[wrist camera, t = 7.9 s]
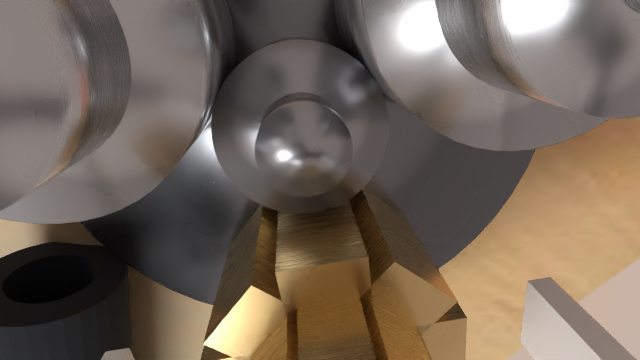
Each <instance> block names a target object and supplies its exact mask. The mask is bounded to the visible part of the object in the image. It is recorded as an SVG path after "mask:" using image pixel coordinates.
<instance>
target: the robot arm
mask: <svg viewBox="0 0 640 360" xmlns="http://www.w3.org/2000/svg"><path fill="white" fill-rule="evenodd" d="M520 342H521V343H522V345H523V346H524V347H525V349H526V350H527V352H528V353H529V354H530V356H531V357H532V358H533V359H534V360H636V359H635V358H634V357H633V356H632V355H631V354H630V353H629V352H628V351H627V350H626V349H625V348H624V347H623V346H622V345H621V344H620V343H619V342H617V341H616V340H615V339H614V338H613V337H612V336H611V335H610V334H609V333H608V332H607V331H606V330H605V329H604V328H603V327H602V326H601V325H600V324H599V323H598V322H597V321H596V320H595V319H593V318H592V317H591V316H590V315H589V314H588V313H587V312H586V311H585V310H584V309H583V308H582V307H581V306H580V305H579V304H578V303H577V302H576V301H575V300H574V299H573V298H572V297H571V296H569V295H568V294H567V293H566V292H565V291H564V290H563V289H562V288H561V287H560V286H559V285H558V284H557V283H556V282H555V281H554V280H553V279H552V278H551V277H548V278H542V279H536V280H530V281H528V282H527V290H526V298H525V306H524V314H523V323H522V331H521V339H520ZM101 360H135V359H134V357H133V355H132V353H131V351H130V348H125V349H119V350H113V351H107V352H105V353H104V355H103V357H102V359H101Z"/></svg>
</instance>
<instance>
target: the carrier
mask: <svg viewBox="0 0 640 360" xmlns="http://www.w3.org/2000/svg"><path fill="white" fill-rule="evenodd" d="M630 117H640V0H0V219H5V220H10V221H17V222H26V223H35V224H61V223H71V222H81V223H82V224H83V225H84V226H85V227H86V229H87V230H88V231H89V232H90V233H91V234H92V235H93V236H94V237H95V238H96V239H97V240H99V241H100V242H101V243H102V244H103V245H104V246H105V247H107V248H108V249H109V250H110V251H111V252H112V253H114V254H115V255H116V256H117V257H118V258H120V259H121V260H123V261H124V262H126V263H127V264H128V265H130V266H131V267H133V268H134V269H136V270H137V271H139V272H140V273H141V274H143V275H145V276H147V277H148V278H150V279H152V280H154V281H156V282H158V283H159V284H161V285H163V286H165V287H167V288H169V289H171V290H173V291H176V292H178V293H180V294H183V295H185V296H188V297H190V298H193V299H195V300H198V301H201V302H204V303H208V304H211V305H214V302H215V298H216V294H217V290H218V287H219V283H220V279H221V275H222V272H223V268H224V264H225V260H226V257H227V253H228V249H229V246H230V244H231V243H232V242H233V240H234V239H235V238H236V236H237V235H238V234H239V232H240V231H241V230H242V228H243V227H244V226H245V225H246V223H247V222H248V221H249V219H250V218H251V217H252V215H253V214H254V213H255V211H256V210H257V209H258V207H259V206H260V205H263V206H265V207H268V208H271V209H273V210H277V211H281V212H288V213H313V212H318V211H323V210H327V209H329V208H332V207H335V206H337V205H339V204H341V203H343V202H345V201H347V200H349V199H350V198H352V197H353V196H354V195H356V194H357V193H358V192H359V191H360V190H362V189H363V188H364V189H366V190H367V191H369V192H370V193H372V194H373V195H374V196H376V197H377V198H379V199H380V200H382V201H383V202H385V203H386V204H388V205H389V206H390V207H392V208H393V209H395V210H396V211H398V212H399V213H401V214H402V215H403V216H405V217H406V218H407V220H408V222H409V223H410V225H411V226H412V228H413V230H414V231H415V233H416V235H417V236H418V238H419V239H420V241H421V243H422V244H423V246H424V247H425V249H426V251H427V252H428V254H429V256H430V257H431V259H432V260H433V262H434V264H435V265H436V267H437V269H438V268H440V267H441V266H443V265H444V264H445V263H447V262H448V261H450V260H451V259H452V258H454V257H455V256H456V255H457V254H458V253H459V252H461V251H462V250H463V249H464V248H465V247H466V246H467V245H468V244H470V243H471V242H472V241H473V240H474V239H475V238H476V237H477V236H478V235H479V234H480V233H481V232H482V230H483V229H484V228H485V227H486V226H487V225H488V224H489V223H490V222H491V221H492V220H493V218H494V217H495V216H496V215H497V213H498V212H499V211H500V209H501V208H502V206H503V205H504V204H505V202H506V201H507V200H508V198H509V197H510V196H511V194H512V193H513V191H514V189H515V188H516V186H517V184H518V182H519V181H520V179H521V177H522V175H523V174H524V172H525V170H526V169H527V167H528V165H529V162H530V160H531V158H532V156H533V153H534V151H535V149H536V148H541V147H545V146H550V145H554V144H557V143H560V142H563V141H565V140H568V139H571V138H574V137H576V136H578V135H580V134H582V133H585V132H587V131H589V130H591V129H593V128H595V127H597V126H598V125H600V124H602V123H603V122H605V121H607V120H608V119H610V118H630Z"/></svg>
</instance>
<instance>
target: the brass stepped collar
mask: <svg viewBox="0 0 640 360" xmlns="http://www.w3.org/2000/svg"><path fill="white" fill-rule="evenodd" d="M457 302H458V301H457V299H456V298H455V296H454V294H453V293H452V291H451V290H450V288H449V286H448V285H447V283H446V282H445V280H444V278H443V277H442V275H441V273H440V272H439V270H438V269H437V267H436V265H435V264H434V262H433V260H432V259H431V257H430V256H429V254H428V252H427V251H426V249H425V247H424V246H423V244H422V243H421V241H420V239H419V238H418V236H417V235H416V233H415V231H414V230H413V228H412V226H411V225H410V223H409V222H408V220H407V218H406V217H405V216H403V215H402V214H401V213H399V212H398V211H396V210H395V209H393V208H392V207H390V206H389V205H388V204H386V203H385V202H383V201H382V200H380V199H379V198H377V197H376V196H374V195H373V194H372V193H370V192H369V191H367V190H366V189H364V188H363V189H362V190H360V191H359V192H358V193H357V194H356V195H354V196H353V197H352V198H350V199H349V200H347V201H345V202H343V203H341V204H339V205H337V206H335V207H332V208H329V209H327V210H323V211H318V212H313V213H288V212H281V211H277V210H273V209H271V208H268V207H265V206H263V205H260V206H259V207H258V209H257V210H256V211H255V213H254V214H253V215H252V217H251V218H250V219H249V221H248V222H247V223H246V225H245V226H244V227H243V228H242V230H241V231H240V232H239V234H238V235H237V236H236V238H235V239H234V240H233V242H232V243H231V244H230V246H229V249H228V253H227V257H226V260H225V264H224V268H223V272H222V275H221V279H220V283H219V287H218V290H217V294H216V298H215V302H214V306H213V309H212V313H211V317H210V321H209V324H208V328H207V332H206V336H205V339H204V343H203V344H204V349H203V353H202V356H201V360H465V350H466V325H467V317H466V316H465V314H464V312H463V311H462V309H461V308H460V306H459V304H458V303H457Z"/></svg>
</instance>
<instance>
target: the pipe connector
mask: <svg viewBox="0 0 640 360" xmlns="http://www.w3.org/2000/svg"><path fill="white" fill-rule="evenodd" d="M125 348H130V351H131V331H130V311H129V290H128V270H127V263H126V262H124V261H123V260H121V259H120V258H118V257H117V256H116V255H115V254H114V253H112V252H111V251H110V250H109V249H108V248H107V247H105V246H93V245H82V244H70V243H58V242H51V243H44V244H40V245H36V246H32V247H28V248H25V249H22V250H19V251H16V252H14V253H11V254H9V255H7V256H4V257H2V258H0V360H101V359H102V357H103V355H104V353H105V352H107V351H113V350H119V349H125ZM131 353H132V351H131Z"/></svg>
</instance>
